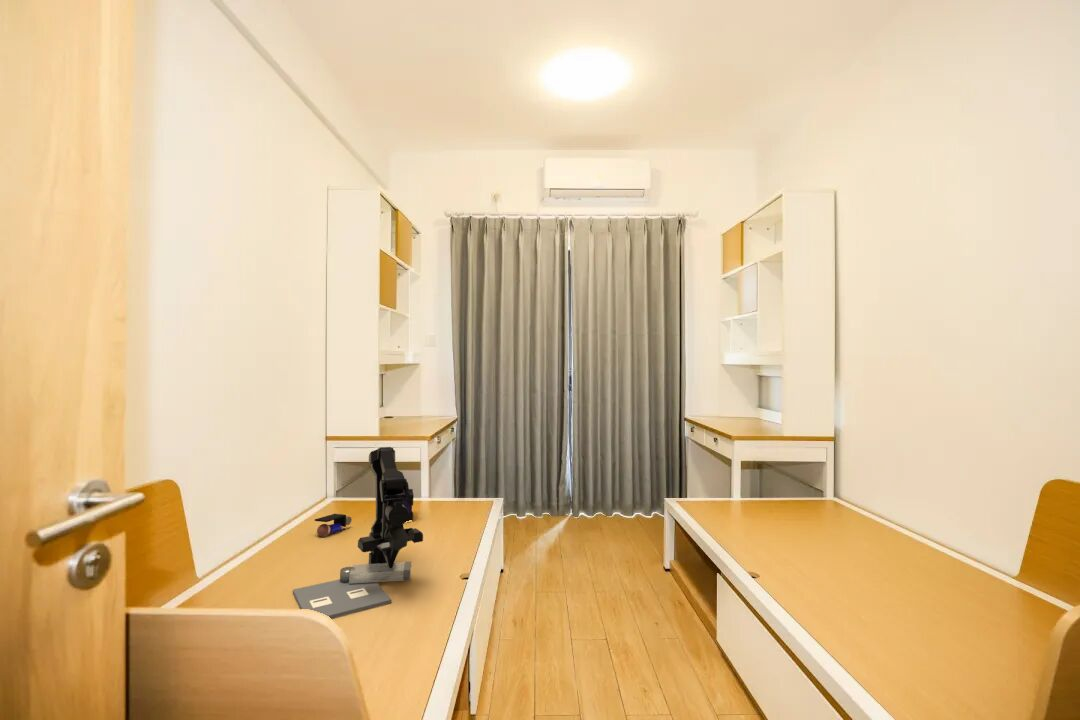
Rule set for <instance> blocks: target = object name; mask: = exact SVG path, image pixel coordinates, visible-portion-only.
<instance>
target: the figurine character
mask: <svg viewBox="0 0 1080 720" xmlns="http://www.w3.org/2000/svg"><path fill="white" fill-rule="evenodd" d="M331 521H333V523H331V524H327V523H328V522H331ZM314 522H320V523H321V522H322V523H323V524H320V525H318V528H317V529H316V533H317V535H318V536H319V537H321V538H324V537H327V536H329V534H331V533H334V532H338V531H344V530H346V527H347V526H349V525H351V523H352V517H351V516H348V515H347V514H343V513H342V514H341V513H333V514H330V515H329V514H328V515H325V516H321V517H318V518H315V519H314Z"/></svg>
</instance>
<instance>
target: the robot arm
mask: <svg viewBox="0 0 1080 720" xmlns="http://www.w3.org/2000/svg"><path fill="white" fill-rule="evenodd" d="M368 464H369V465H370V471H371V472H372V474H373V475H374V478H375V519H374V522H373V523H372V525H371V528H370V532H369V533H368V536H364V537H360V538H359V539H358V540H357V548H358V549H359V550H360V551H361V552H362V553H368V564H380V563H387V565H388V568H392V567H393V564H394V563H396V562H395V561H396V558H397V556H398V554H399V552H400V550H402V549H403V548H405V547H407V546H408V542H412V543H414V544H416V543H422V542H423V541H424V534H423V532H422V531H421V530H420V529H418V528H413V527H409V528H404V524H405V522H406V521H407V519H408V516H409V514H408V511H407V509H406V508H405V506H404V505H403V500H408V496H409V494H410V493H409V489H410V487H409V481H407V478H406V477H405V474H403V473H404V472H402V471H400V470H398V468H397V463H396V450H394V447H391V446H386V447H385V446H384V447H383V446H382V447H379V448H378V447H377V449H375V450H372V451H370V452H369V454H368ZM403 490H404V494H403ZM396 494H401V495H396ZM404 495H405V496H404Z"/></svg>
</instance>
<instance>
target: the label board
mask: <svg viewBox="0 0 1080 720" xmlns="http://www.w3.org/2000/svg"><path fill="white" fill-rule="evenodd" d="M292 595H293V596H294V598H295V601H296V603H297V605H298V607H299V606H300V607H299V609H300V610H301V609H310V610H314V611H317V612H320V613H323V614H325V615H327V616H329V617H330V618H331V619H330V620H332V619H336V618H339V617H344V616H347V615H351V614H355V613H358V612H362V611H367V610H370V609H374V608H377V607H378V608H379V607H381V606H386V605H390V604H392V602H393V600H392V598H391V597H390V596H389V594H388V593H387V592H386V591H385V590H384V589H383V588H382V586H380V585H379V582H370V583H354V584H349V582H341V581H340V578H339V579H334V580H331V581H326V582H320V583H317V584H311V585H308V586H307V585H306V586H303V587H299V588H293V589H292Z"/></svg>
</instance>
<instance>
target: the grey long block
mask: <svg viewBox="0 0 1080 720" xmlns="http://www.w3.org/2000/svg"><path fill="white" fill-rule="evenodd" d="M411 573H412V561H402V562H400V561H399V562H394V564H393V567H392V568H388V565H387V563H380V564H369V563H365V564H352V566H345V567H343V568H341V569H340V570H339V579H340V581H341V582H349V584H354V583H370V582H377V583H380V582H381V583H382V582H399V581H400V582H401V581H403V582H405V581H407V582H408V581H410V580H411V576H412V574H411Z"/></svg>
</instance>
